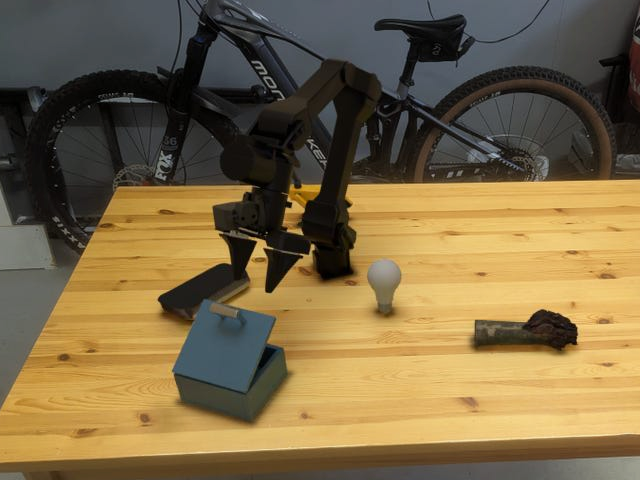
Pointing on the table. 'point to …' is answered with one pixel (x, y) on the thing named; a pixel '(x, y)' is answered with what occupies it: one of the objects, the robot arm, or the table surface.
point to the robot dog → (306, 193)
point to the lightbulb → (384, 282)
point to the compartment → (237, 402)
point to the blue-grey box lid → (224, 345)
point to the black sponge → (203, 291)
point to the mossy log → (528, 331)
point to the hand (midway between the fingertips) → (251, 286)
